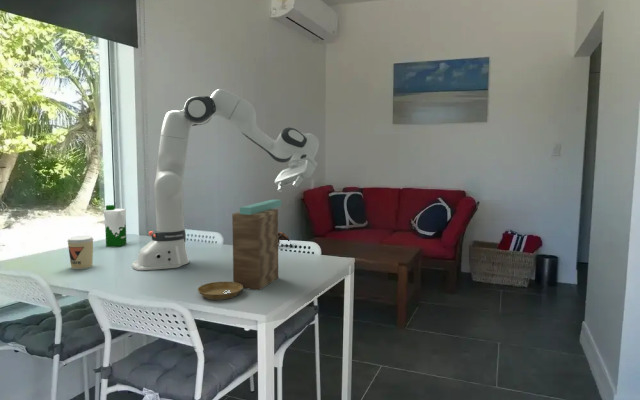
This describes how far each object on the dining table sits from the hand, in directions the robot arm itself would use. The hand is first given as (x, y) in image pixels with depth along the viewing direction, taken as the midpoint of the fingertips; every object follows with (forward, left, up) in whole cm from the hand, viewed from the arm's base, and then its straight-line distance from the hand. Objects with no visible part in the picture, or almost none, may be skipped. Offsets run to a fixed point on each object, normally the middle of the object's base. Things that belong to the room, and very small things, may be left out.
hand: (287, 188), depth 190 cm
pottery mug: (+15, +36, -32) cm, 51 cm away
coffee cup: (-73, +40, -32) cm, 90 cm away
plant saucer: (-36, -23, -33) cm, 54 cm away
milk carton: (-55, +78, -32) cm, 101 cm away
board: (-17, -12, -6) cm, 22 cm away
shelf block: (-20, -16, -32) cm, 41 cm away
